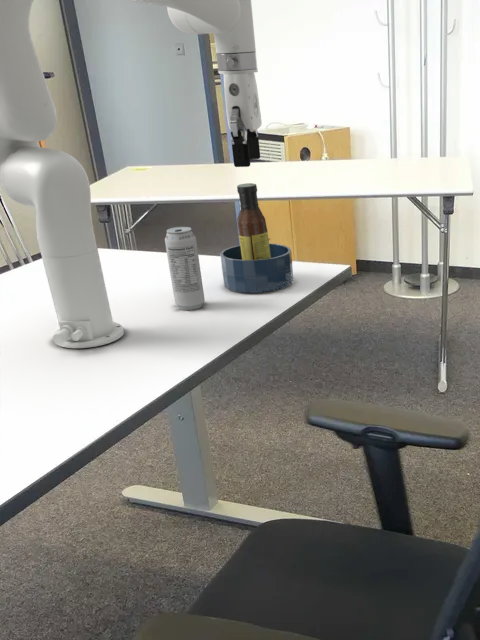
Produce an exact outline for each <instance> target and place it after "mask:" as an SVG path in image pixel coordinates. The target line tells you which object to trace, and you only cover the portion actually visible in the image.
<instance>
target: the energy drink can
mask: <svg viewBox="0 0 480 640" xmlns="http://www.w3.org/2000/svg"><path fill="white" fill-rule="evenodd" d="M165 232H166V235H165V238H164V243H165V250H166V256H167V262H168V269H169V275H170V281H171V287H172V294H173V300H174V304H175V305H176V306H177V307H178V309H179V310H181V311H194V310H198V309H201V308H202V307H203V306H204V304H203V303H205V302H206V300H205V292H204V285H203V278H202V272H201V265H200V258H199V257H200V255H199V250H198V244H197V242H198V241H197V238H196V235H195V234H194V232H193V231H192V228H191V227H190V226H175V227H170V228H168V229H166V231H165Z"/></svg>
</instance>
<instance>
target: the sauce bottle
mask: <svg viewBox="0 0 480 640" xmlns="http://www.w3.org/2000/svg"><path fill="white" fill-rule="evenodd" d="M236 188H237V189H236V191H237V194H238V198H239V207H240V209H239V212H238V215H237V218H236V221H237V229H238V239H239V245H240V246H241V253H242V260H260V259H268V258H271V254H270V246H269V243H270V240H269V230H268V227H267V222H266V221H267V220H266V218H265V215H264V214H263V212H262V210H261V208H260V206H259V201H258V187H257V183H250V182H249V183H240V184H238V185H236Z"/></svg>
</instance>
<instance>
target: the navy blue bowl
mask: <svg viewBox="0 0 480 640" xmlns="http://www.w3.org/2000/svg"><path fill="white" fill-rule="evenodd" d="M269 246H270V254H271V258H268V259H260V260H242V253H241V246H240V244H239V245H235V246H230V247H228V248H225V249H222V250H221V252H219V256H220V263H221V271H222V279H223V280H222V281H223V285H224V287H225V288H226V289H228V290H231V291H232V292H236V293H240V294H241V293H242V294H266V293H272V292H276V291H280V290H283V289H285V288H287V287H288V286H290V285H292V284H293V282H294V269H293V255H292V249H291V247H289V246H287V245H285V244H279V243H270V242H269Z"/></svg>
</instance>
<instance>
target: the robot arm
mask: <svg viewBox="0 0 480 640" xmlns="http://www.w3.org/2000/svg"><path fill="white" fill-rule="evenodd" d="M129 1H131V2H134V3H138V4H144V5H150V6H159V7H166V10H167V15H168V18H169V20H170V22H171V23H172V25H173V26H174V27H175V28H176V29H177V30H179V31H180V32H181V33H184V34H187V35H207V34H213V38H214V46H215V54H216V55H215V56H216V62H217V63H216V64H217V73H218V74H219V75H223V89H224V90H223V91H224V101H225V103H224V104H225V112H226V119H227V120H226V121H227V127H228V130H229V131H230V136H231V138H230V139H231V140H230V142H231V151H232V159H233V166H234V167H235V168H248V167H251V160H259V159H260V158H261V147H260V139H259V131H258V129H260V128H261V126H262V125H263V123H262V121H263V120H262V115H261V107H260V100H259V99H260V98H259V92H258V91H259V90H258V85H257V84H258V83H257V79H256V73H258V71H259V70H258V59H257V52H256V51H257V50H256V49H257V47H256V37H255V27H254V17H253V16H254V15H253V7H252V0H129ZM33 2H34V0H0V187H1V189H2V190H3V192H4V193H5V194H6V195H7V197H9V198H10V199H11V200H13V201H14V202H16V203H17V204H20V205H23V206H28V207H31V208H35V213H36V214H35V215H36V217H35V218H36V219H35V231H36V238H37V243H38V248H39V253H40V255H41V260H42V263H43V267H44V271H45V275H46V279H47V284H48V287H49V291H50V295H51V299H52V303H53V307H54V311H55V316H56V319H57V323H58V327H59V329H57V330H56V331H55V332H54V333H53V334H52V339H53V342H54V344H55V345H57V346H58V347H62V348H66V349H88V348H96V347H101V346H105V345H108V344H110V343H113V342H116V341H118V340H119V339H120V338H122V337H123V336H124V334H125V333H124V332H125V331H124V327H123V325H122V324H120V323H119V322H115V321H114V320H113V316H112V311H111V306H110V301H109V296H108V290H107V287H106V283H105V277H104V272H103V268H102V262H101V258H100V253H99V249H98V245H97V240H96V235H95V230H94V229H95V228H94V223H93V217H92V198H91V195H92V194H91V184H90V180H89V177H88V174H87V171H86V170H85V168H84V167H83V165H82V164H81V162H80V161H79V160H78V159H76V158H75V157H74V156H72V155H71V154H69V153H68V152H66V151H63V150H60V149H56V148H50V147H49V148H48V147H41V146H40V143H39V142H41V141H44V140H47V139H49V138H50V137H52V135H54V133H55V131H56V130H57V126H58V115H57V114H58V113H57V108H56V106H55V103H54V100H53V97H52V94H51V92H50V88H49V86H48V84H47V80H46V77H45V74H44V72H43V69H42V66H41V64H40V61H39V57H38V56H37V52H36V48H35V45H34V42H33V38H32V34H31V28H30V15H31V9H32V6H33Z"/></svg>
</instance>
